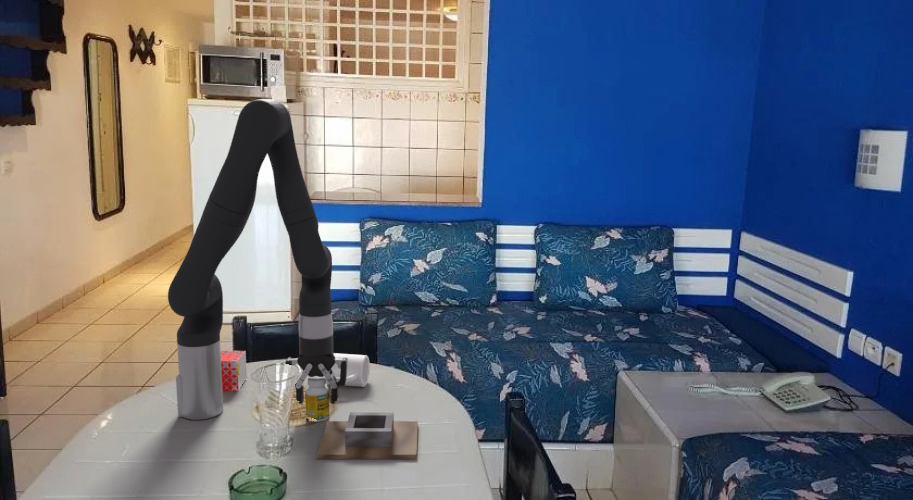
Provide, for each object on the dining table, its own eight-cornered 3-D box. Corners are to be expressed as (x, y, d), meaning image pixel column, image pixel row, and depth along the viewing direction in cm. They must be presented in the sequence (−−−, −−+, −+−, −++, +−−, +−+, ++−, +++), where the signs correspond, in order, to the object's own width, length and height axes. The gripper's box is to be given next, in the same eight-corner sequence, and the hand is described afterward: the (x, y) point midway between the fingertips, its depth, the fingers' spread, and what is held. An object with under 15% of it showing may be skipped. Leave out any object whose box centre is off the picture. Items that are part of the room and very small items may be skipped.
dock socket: (317, 459, 146) (316, 438, 145) (328, 425, 162) (328, 406, 161) (416, 459, 147) (416, 438, 146) (417, 425, 162) (417, 406, 162)
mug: (333, 377, 191) (332, 348, 189) (369, 380, 190) (369, 351, 188) (318, 394, 179) (317, 364, 178) (357, 397, 178) (357, 366, 176)
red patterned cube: (238, 391, 180) (237, 361, 179) (206, 391, 180) (205, 361, 179) (246, 379, 188) (245, 350, 187) (216, 379, 188) (214, 350, 187)
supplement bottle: (317, 411, 169) (316, 372, 167) (334, 416, 166) (333, 377, 165) (300, 419, 165) (299, 379, 163) (318, 424, 162) (317, 384, 160)
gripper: (280, 337, 158) (282, 409, 161) (346, 337, 158) (347, 409, 161) (286, 327, 165) (289, 396, 168) (350, 327, 166) (351, 396, 169)
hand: (317, 402), depth 165 cm, fingers open, 6 cm apart
